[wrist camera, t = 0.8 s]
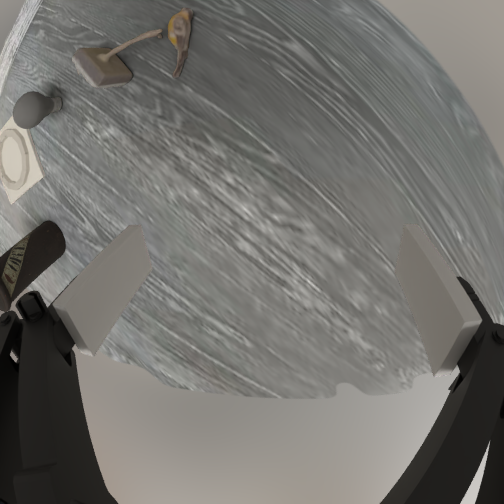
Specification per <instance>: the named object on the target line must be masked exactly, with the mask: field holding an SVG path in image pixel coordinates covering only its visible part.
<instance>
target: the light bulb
mask: <svg viewBox="0 0 504 504" xmlns="http://www.w3.org/2000/svg"><path fill="white" fill-rule="evenodd" d="M61 105H62V101H61V99H60V98H59V97H56V98H50V97H45V96H43V95H42V94H41V93H39V92H34V91H32V92H28V93H26V94H24V95H23V96H21V97H20V98H19V99H18V101H17V102H16V104H15V106H14V109H13V119H14V122H15V123H16V124H17V126H19V127H20V128H23V129H30V128H33V127H35V126H36V125H38V124H39V123H40V122H41V121H42V120H43V118H44V117H45V116H48V115H49V114H50V113H54V112H58V111H59V110H60V109H61Z"/></svg>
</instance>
